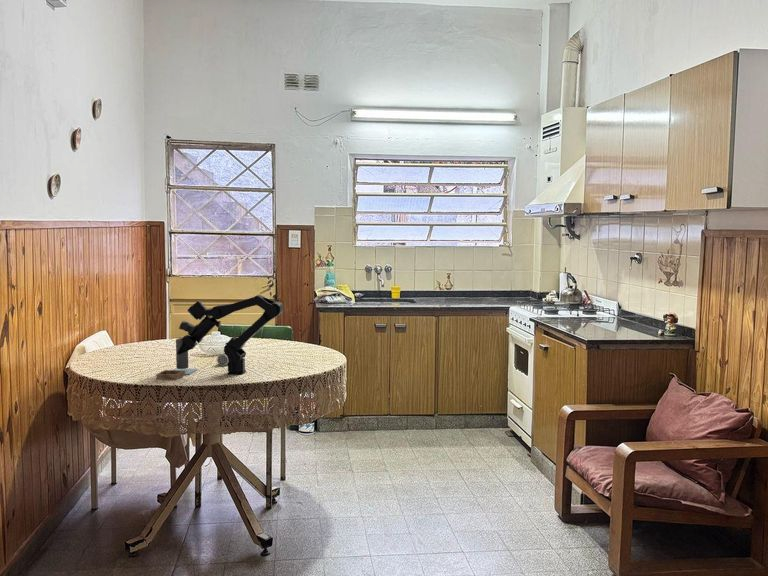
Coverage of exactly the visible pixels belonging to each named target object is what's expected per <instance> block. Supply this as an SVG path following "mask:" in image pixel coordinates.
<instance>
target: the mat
mask: <svg viewBox="0 0 768 576" xmlns="http://www.w3.org/2000/svg"><path fill="white" fill-rule="evenodd" d="M173 370H181V371H185V376H190V375H191V374H194V373H195V372H197V371H198V368H186V369H177V367H176V368H174V369H173Z"/></svg>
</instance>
